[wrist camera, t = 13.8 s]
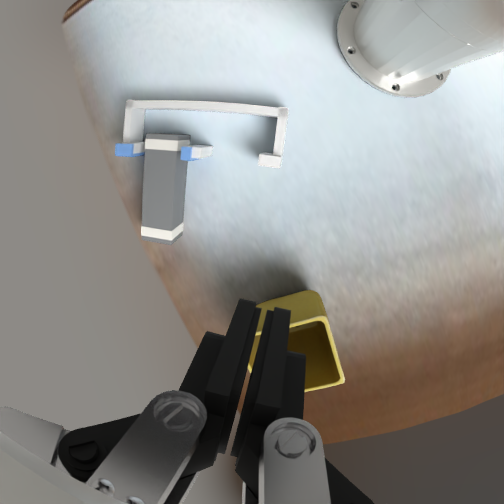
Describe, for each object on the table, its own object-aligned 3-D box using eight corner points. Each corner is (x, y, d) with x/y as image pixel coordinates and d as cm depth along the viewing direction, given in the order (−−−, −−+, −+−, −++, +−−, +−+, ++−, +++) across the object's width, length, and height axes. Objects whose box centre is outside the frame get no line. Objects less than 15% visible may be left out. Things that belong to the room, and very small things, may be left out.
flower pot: (338, 332, 36) (346, 384, 28) (271, 349, 38) (263, 400, 30) (320, 270, 34) (326, 314, 25) (246, 291, 36) (230, 337, 27)
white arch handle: (140, 101, 29) (119, 99, 25) (288, 110, 28) (287, 106, 24) (135, 152, 32) (115, 156, 27) (281, 167, 30) (278, 172, 26)
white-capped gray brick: (160, 133, 30) (145, 133, 27) (190, 135, 30) (178, 135, 27) (154, 229, 35) (141, 239, 31) (182, 234, 34) (171, 245, 31)
